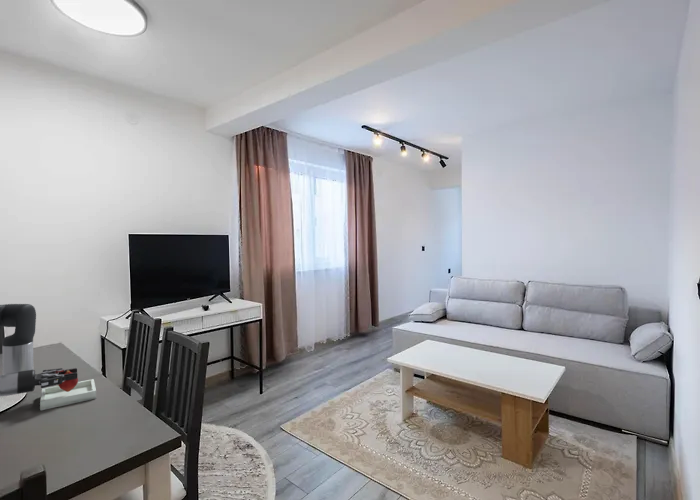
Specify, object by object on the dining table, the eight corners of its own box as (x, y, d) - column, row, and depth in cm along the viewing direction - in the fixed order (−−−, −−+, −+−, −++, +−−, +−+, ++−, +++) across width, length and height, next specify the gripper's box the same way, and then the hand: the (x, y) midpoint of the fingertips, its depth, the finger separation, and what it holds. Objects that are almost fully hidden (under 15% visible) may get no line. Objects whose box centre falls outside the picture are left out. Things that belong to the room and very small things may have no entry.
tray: (42, 396, 136) (42, 388, 136) (93, 386, 146) (93, 379, 146) (40, 410, 125) (40, 402, 125) (96, 398, 135) (96, 390, 135)
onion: (65, 388, 138) (65, 367, 138) (81, 388, 139) (81, 367, 139) (54, 394, 132) (54, 373, 132) (70, 394, 133) (71, 373, 133)
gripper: (14, 378, 121) (78, 368, 132) (19, 366, 132) (76, 358, 143) (14, 400, 121) (77, 389, 132) (18, 386, 132) (76, 377, 143)
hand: (76, 373), depth 137 cm, fingers closed on onion, 5 cm apart
